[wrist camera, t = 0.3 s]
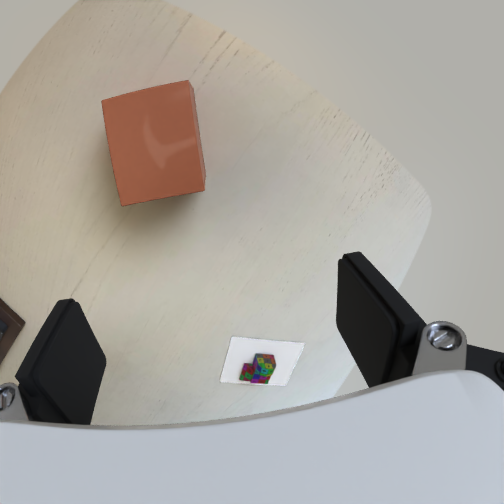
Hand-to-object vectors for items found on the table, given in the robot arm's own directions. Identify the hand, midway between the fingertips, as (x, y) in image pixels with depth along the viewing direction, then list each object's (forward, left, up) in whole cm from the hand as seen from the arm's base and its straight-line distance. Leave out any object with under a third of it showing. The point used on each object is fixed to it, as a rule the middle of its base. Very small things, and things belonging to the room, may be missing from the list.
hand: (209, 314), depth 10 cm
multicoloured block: (+19, +2, -15) cm, 24 cm away
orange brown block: (-5, -3, -15) cm, 16 cm away
